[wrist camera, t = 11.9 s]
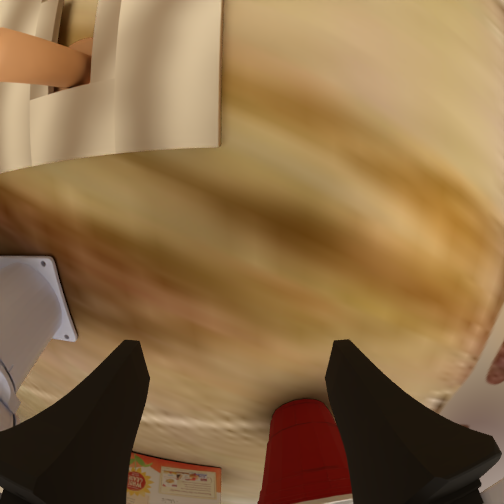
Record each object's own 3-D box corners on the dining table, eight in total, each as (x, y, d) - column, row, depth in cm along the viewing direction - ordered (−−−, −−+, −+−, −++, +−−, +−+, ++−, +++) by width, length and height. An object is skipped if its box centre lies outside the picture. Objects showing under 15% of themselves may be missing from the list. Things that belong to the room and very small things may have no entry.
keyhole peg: (60, 117, 15) (-37, 127, 7) (53, 57, 13) (-38, 40, 5) (121, 92, 15) (34, 75, 7) (112, 29, 13) (34, -18, 5)
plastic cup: (243, 442, 29) (246, 535, 18) (249, 383, 24) (254, 508, 13) (335, 437, 29) (356, 521, 18) (363, 378, 25) (404, 484, 14)
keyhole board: (-2, 172, 16) (-18, 177, 14) (27, -52, 7) (16, -59, 6) (220, 145, 17) (218, 147, 15) (231, -108, 8) (230, -121, 6)
